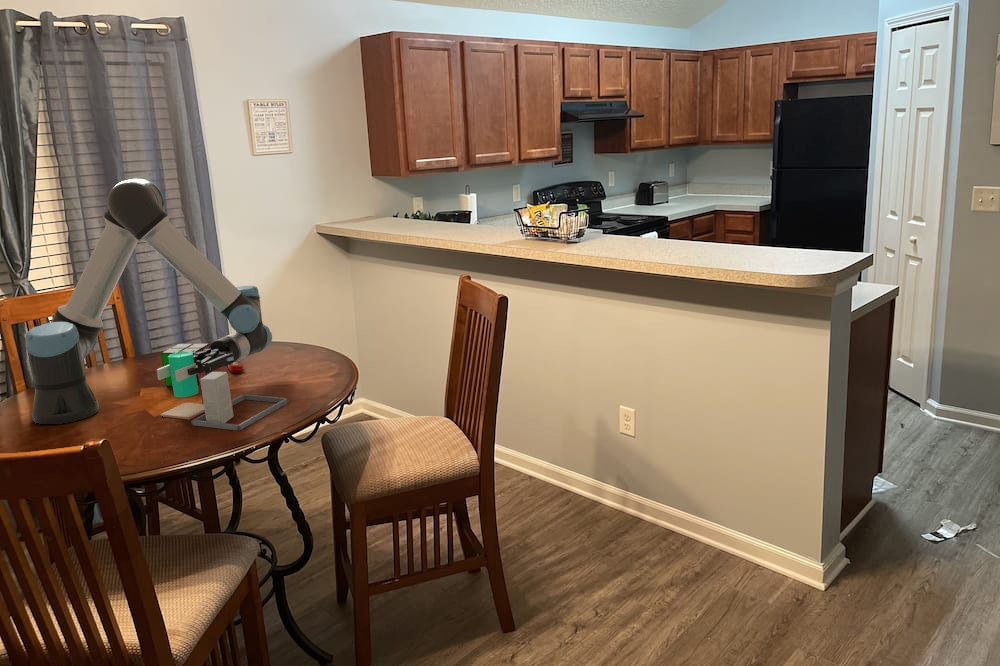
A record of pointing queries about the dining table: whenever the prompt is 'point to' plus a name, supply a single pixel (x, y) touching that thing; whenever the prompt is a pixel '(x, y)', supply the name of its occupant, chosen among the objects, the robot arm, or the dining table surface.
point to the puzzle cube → (187, 349)
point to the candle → (186, 385)
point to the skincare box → (216, 397)
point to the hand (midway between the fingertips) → (167, 375)
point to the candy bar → (235, 367)
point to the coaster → (185, 411)
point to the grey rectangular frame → (281, 402)
